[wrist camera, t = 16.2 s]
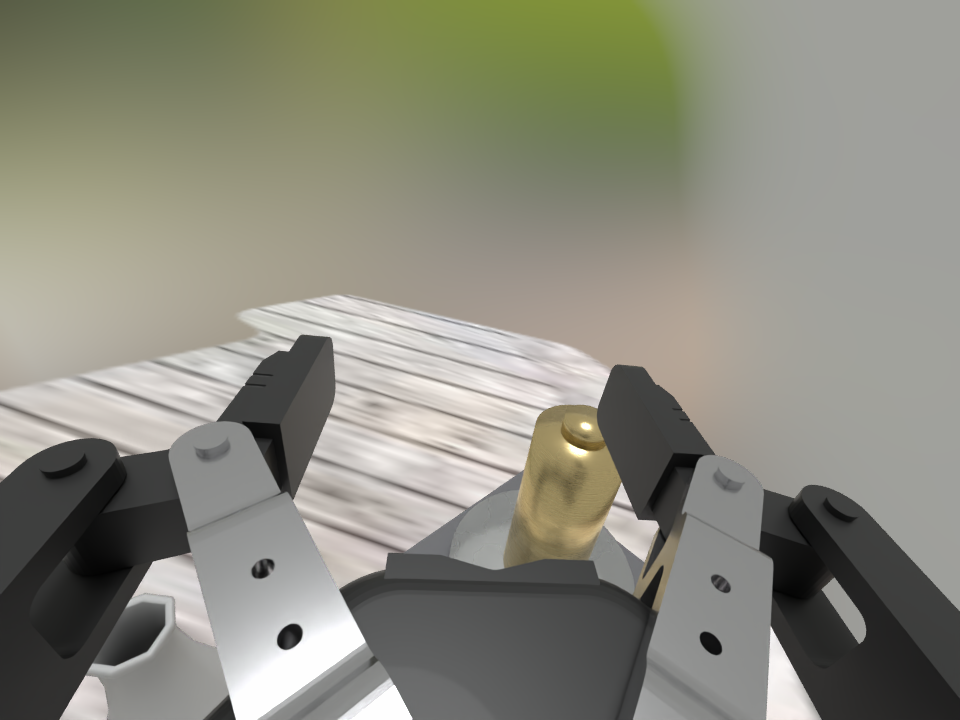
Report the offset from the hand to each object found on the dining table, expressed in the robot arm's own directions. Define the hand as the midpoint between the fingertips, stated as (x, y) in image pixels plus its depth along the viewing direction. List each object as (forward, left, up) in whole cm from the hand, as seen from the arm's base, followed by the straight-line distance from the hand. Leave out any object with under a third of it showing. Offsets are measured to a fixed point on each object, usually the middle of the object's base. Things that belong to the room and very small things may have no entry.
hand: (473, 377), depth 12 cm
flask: (-10, +8, -24) cm, 27 cm away
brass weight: (+9, 0, -18) cm, 20 cm away
